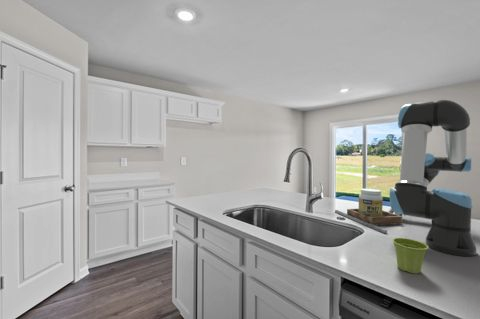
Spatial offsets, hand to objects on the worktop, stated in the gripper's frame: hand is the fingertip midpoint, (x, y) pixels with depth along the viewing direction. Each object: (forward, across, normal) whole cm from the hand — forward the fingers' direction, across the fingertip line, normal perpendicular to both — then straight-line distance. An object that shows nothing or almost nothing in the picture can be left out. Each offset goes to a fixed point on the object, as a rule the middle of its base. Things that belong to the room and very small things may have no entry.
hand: (393, 213), depth 135 cm
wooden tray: (+8, 0, +4) cm, 9 cm away
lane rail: (+20, -1, +15) cm, 25 cm away
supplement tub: (+12, +3, +7) cm, 14 cm away
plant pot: (+34, -52, +29) cm, 68 cm away
